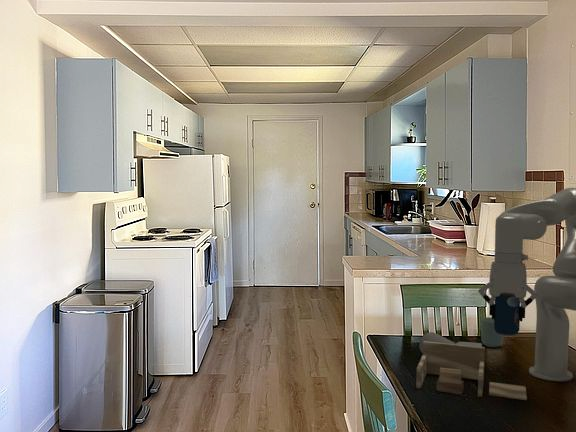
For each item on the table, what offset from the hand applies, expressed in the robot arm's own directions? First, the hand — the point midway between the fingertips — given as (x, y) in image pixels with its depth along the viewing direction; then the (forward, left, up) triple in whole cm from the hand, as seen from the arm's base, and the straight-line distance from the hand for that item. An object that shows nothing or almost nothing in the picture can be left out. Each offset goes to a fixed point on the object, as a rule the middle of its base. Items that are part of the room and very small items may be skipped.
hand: (506, 318), depth 169 cm
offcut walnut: (+6, -15, -22) cm, 27 cm away
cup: (-48, -4, -22) cm, 53 cm away
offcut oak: (+5, -15, -19) cm, 24 cm away
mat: (+1, +1, -21) cm, 21 cm away
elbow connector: (-22, -17, -22) cm, 35 cm away
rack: (0, -15, -21) cm, 26 cm away
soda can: (0, 0, -4) cm, 4 cm away
